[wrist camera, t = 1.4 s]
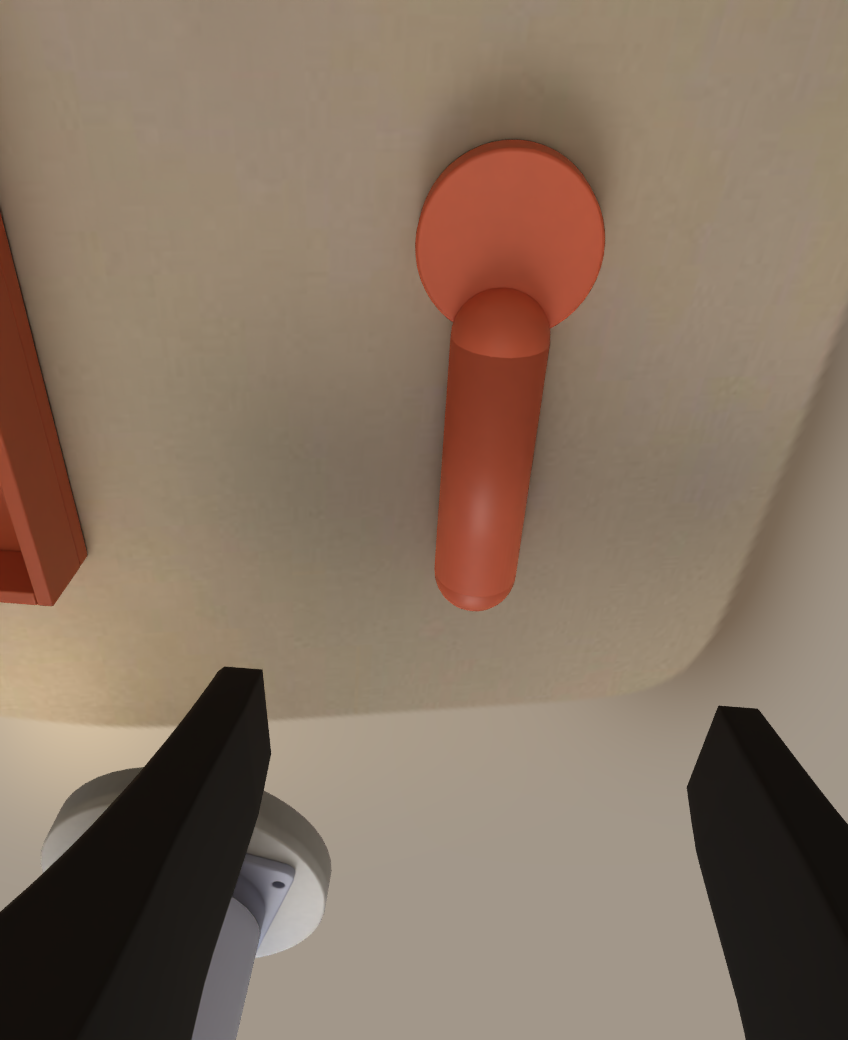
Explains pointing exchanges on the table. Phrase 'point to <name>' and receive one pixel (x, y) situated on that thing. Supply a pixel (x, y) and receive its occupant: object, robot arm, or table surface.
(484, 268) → the red spoon
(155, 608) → the table surface
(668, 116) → the table surface
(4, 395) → the red tray
